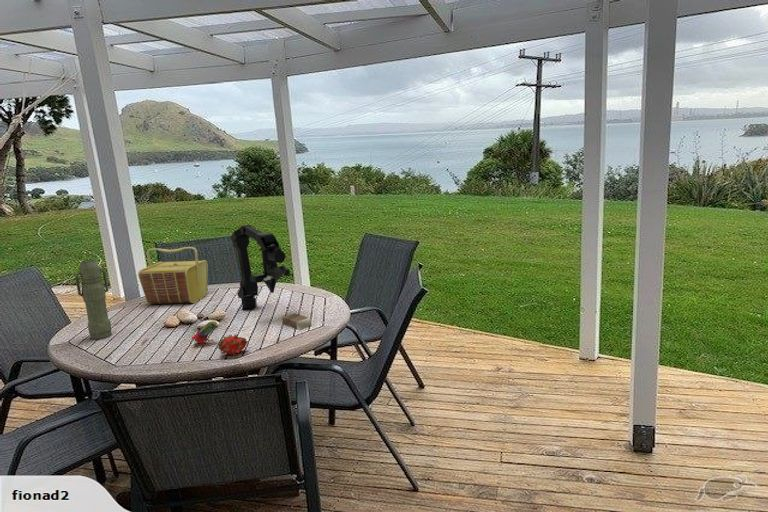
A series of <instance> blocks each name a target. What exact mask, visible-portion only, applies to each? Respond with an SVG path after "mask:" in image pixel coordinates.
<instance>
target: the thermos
mask: <svg viewBox="0 0 768 512" xmlns="http://www.w3.org/2000/svg"><path fill="white" fill-rule="evenodd" d="M101 273H102V274H103V280H104V281H103V280H102V279H101V277H102V276H101ZM79 277H80V279H79ZM107 278H108V277H107V271H105V270H104V269H103V268H102V269H101V268H100V265H99V263H98V261H97V260H96V259H86V260H82V261H80V264H79V272H78V273H76V275H75V277H74V279H75V285H76V290H77V295H78V296H79V297H82V301H83V302H84V304H85V309H86V315H87V320H88V322H87V329H88V333H89V336H90V340H92V341H97V340H100V341H101V340H104V339H108V338H110V337H111V336H113V332H112V323H111V320H110V318H109V315H108V308H107V303H106V297H107V296H106V293H107V292H109V283H108V279H107ZM79 280H81V284H82V286H80V281H79ZM102 281H103V282H104V283H103V282H102Z"/></svg>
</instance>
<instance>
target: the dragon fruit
mask: <svg viewBox="0 0 768 512" xmlns="http://www.w3.org/2000/svg"><path fill="white" fill-rule="evenodd" d="M248 342H249V341H248V340H247V339H246V338H245V337H242V336H241V337H239V336H238V335H237V334H234V335H232V334H229V335H228V336H223V337H222V338H221V340H220V341H219V343H218V347H217V348H218V350H219V351H220V354H221V355H224V354H226V356H230V355H231V356H233V357H234V356H235V355H236V354H242V353H243V352H244V351H245V350H244V349H245V348H246V346H247V345H248Z"/></svg>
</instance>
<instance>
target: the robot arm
mask: <svg viewBox="0 0 768 512" xmlns="http://www.w3.org/2000/svg"><path fill="white" fill-rule="evenodd" d="M250 239H252V240H255V241H256V244H257V245H258V246H259V247H260V248H259V252H261V257H262V258H261V259H262V262H261V266H262V267H263V269H262V270H263V271H262V274H259V273H256V274H252V269H251V263H250V257H249V252H248V248H249V245H250ZM230 240H231V243H232V246H233V248H235V249H236V251H237V256H238V262H239V269H240V274H241V280H240V283H239V289H238V292H237V298H239V299H241V310H242V311H248V310H255V309H256V308H257V306H258V303H257V301H258V300H257V297H256V296H258V293H259V286H258V283H262V282H264V284H265V285H266V287H267V288H268V291H269V292H270V294H273V293H274V292H275V287H276V285H277V282H278V280H280V279H281V278H283V277H284V276H285V277H287V276H290V275H291V271H290V269H288V268H287V267H286V266H285V265H280V266H278V264H282V263H283V262H285V260H286V253H285V252H284V251H283V250H282V248H281V247H280V243H279V241H278V240H277V237H276V236H275V235H274V233H272V232H263V231H261V230H260V229H257V228H256V227H253V226H252V225H251V224H246V225H245V224H243V225H241V226H240V227H239V228H238V229H236V230H235V231H233V232H232V234H231V235H230Z"/></svg>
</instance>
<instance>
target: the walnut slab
mask: <svg viewBox="0 0 768 512" xmlns="http://www.w3.org/2000/svg"><path fill="white" fill-rule="evenodd" d="M282 324H283V326H287V327H290V328H293V329H295V330H298V331H299V330H302V329H305V328H308V327H311V326H312V319H311V317H308V316H305V315H301V314H299V313H292V314H289V315H286V316H283V317H282Z"/></svg>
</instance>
